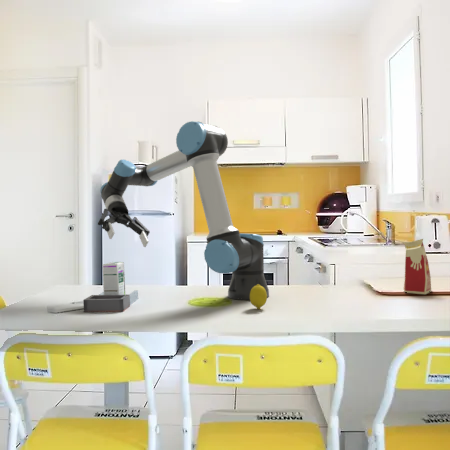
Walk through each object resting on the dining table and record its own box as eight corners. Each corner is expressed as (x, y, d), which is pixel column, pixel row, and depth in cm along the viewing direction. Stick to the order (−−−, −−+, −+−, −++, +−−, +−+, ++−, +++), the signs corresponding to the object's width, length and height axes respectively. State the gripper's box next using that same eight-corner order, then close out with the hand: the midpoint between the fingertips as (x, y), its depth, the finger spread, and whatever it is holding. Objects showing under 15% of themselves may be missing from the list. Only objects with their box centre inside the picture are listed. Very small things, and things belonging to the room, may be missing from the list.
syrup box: (119, 305, 169) (118, 263, 169) (103, 305, 171) (102, 263, 170) (125, 302, 175) (124, 261, 175) (110, 302, 176) (109, 261, 176)
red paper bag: (431, 290, 185) (430, 237, 185) (426, 294, 178) (426, 239, 177) (406, 289, 190) (405, 237, 190) (400, 292, 183) (400, 239, 182)
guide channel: (105, 299, 183) (104, 290, 183) (138, 298, 182) (137, 290, 182) (93, 306, 169) (93, 297, 169) (129, 305, 168) (129, 297, 168)
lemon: (262, 311, 155) (261, 286, 154) (246, 309, 158) (246, 284, 157) (270, 308, 159) (269, 283, 159) (255, 306, 162) (254, 282, 162)
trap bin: (92, 306, 168) (92, 295, 168) (129, 306, 168) (129, 294, 168) (83, 312, 159) (83, 299, 159) (123, 311, 159) (123, 299, 159)
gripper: (140, 224, 200) (155, 255, 184) (82, 208, 185) (92, 240, 169) (149, 209, 197) (164, 239, 181) (90, 192, 183) (101, 223, 167)
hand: (129, 240), depth 175 cm, fingers open, 13 cm apart
